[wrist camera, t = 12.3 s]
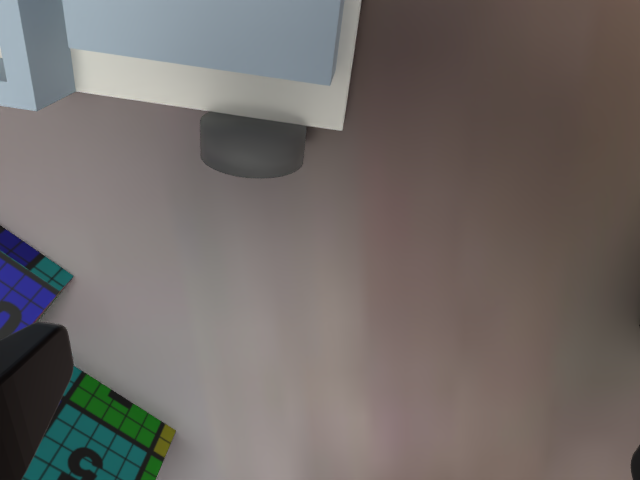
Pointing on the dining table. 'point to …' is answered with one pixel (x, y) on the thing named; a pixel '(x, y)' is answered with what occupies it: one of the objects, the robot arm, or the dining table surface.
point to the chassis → (193, 66)
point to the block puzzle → (76, 390)
